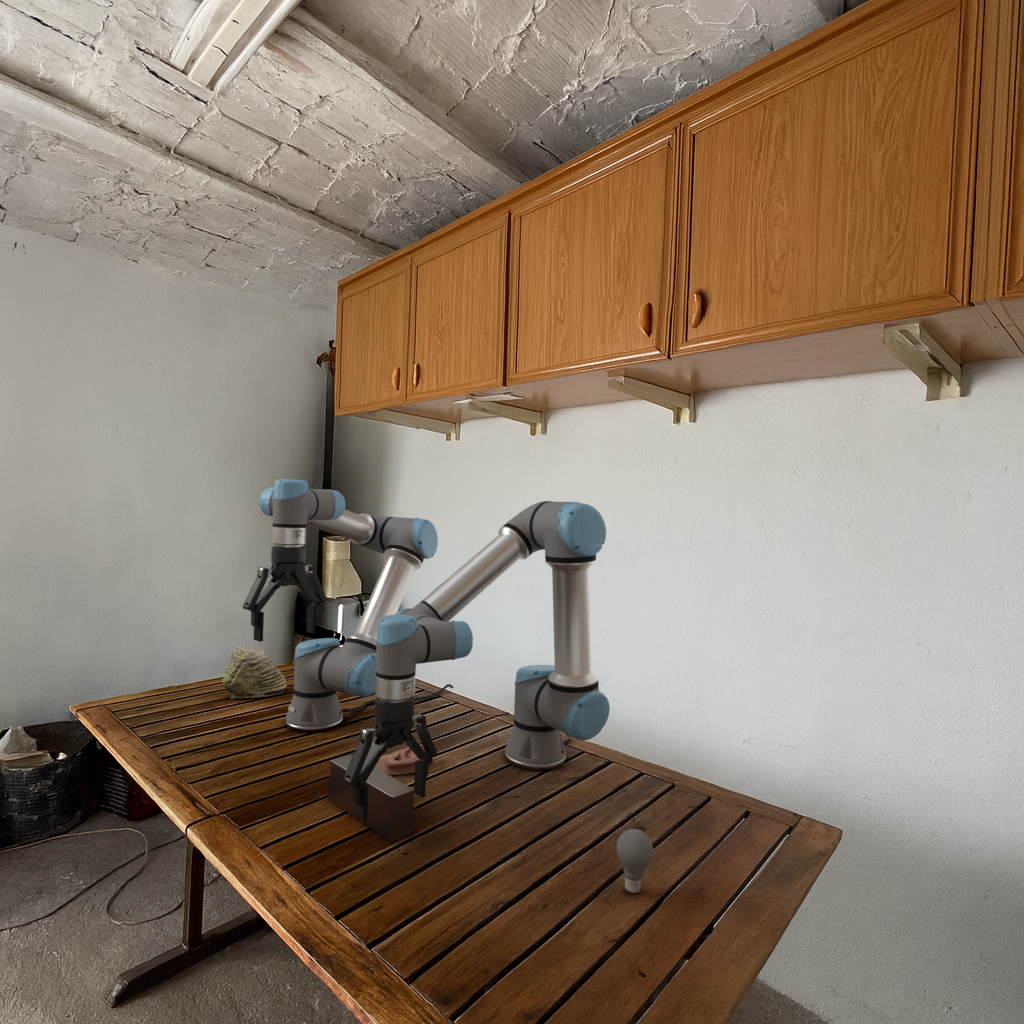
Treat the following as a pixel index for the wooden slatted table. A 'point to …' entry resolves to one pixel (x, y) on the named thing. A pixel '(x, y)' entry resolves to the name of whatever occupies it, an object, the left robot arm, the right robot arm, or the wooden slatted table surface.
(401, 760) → the anatomical model
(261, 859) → the wooden slatted table surface
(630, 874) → the light bulb
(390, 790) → the bar
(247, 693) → the fossil
